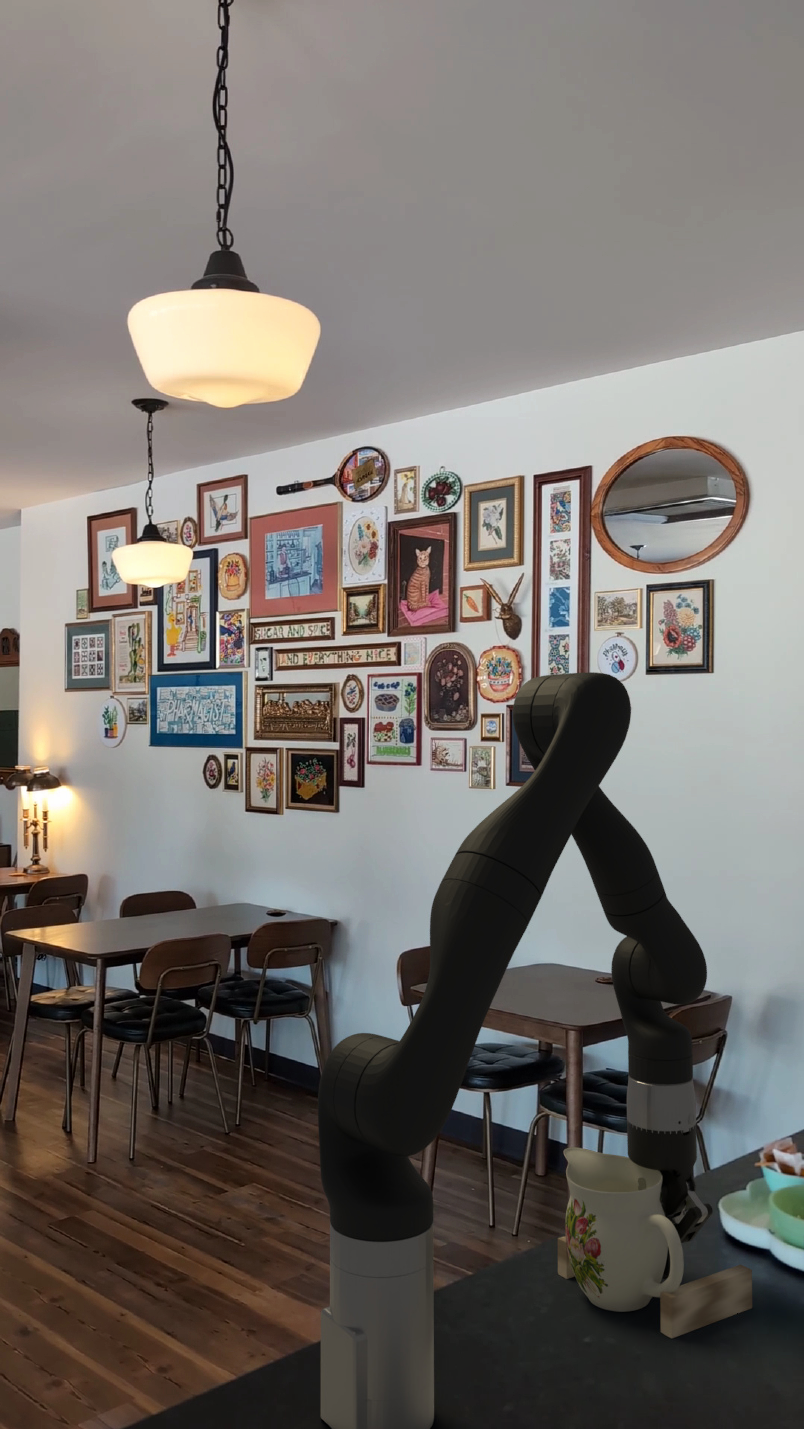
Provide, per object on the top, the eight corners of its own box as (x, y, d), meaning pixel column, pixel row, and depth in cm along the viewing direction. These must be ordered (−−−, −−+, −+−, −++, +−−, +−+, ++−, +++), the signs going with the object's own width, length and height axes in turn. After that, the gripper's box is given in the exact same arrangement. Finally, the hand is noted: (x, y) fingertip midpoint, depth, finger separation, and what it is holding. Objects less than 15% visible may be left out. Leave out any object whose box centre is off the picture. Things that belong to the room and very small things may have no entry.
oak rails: (671, 1338, 117) (671, 1298, 117) (557, 1274, 132) (557, 1238, 132) (752, 1307, 124) (751, 1269, 124) (635, 1249, 138) (634, 1215, 138)
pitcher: (642, 1351, 115) (636, 1210, 115) (533, 1281, 130) (528, 1157, 130) (723, 1320, 120) (717, 1186, 120) (610, 1257, 136) (605, 1138, 136)
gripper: (595, 1108, 133) (597, 1262, 132) (681, 1140, 122) (684, 1308, 121) (643, 1096, 137) (646, 1246, 136) (730, 1126, 126) (734, 1289, 125)
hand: (664, 1275), depth 129 cm, fingers closed
